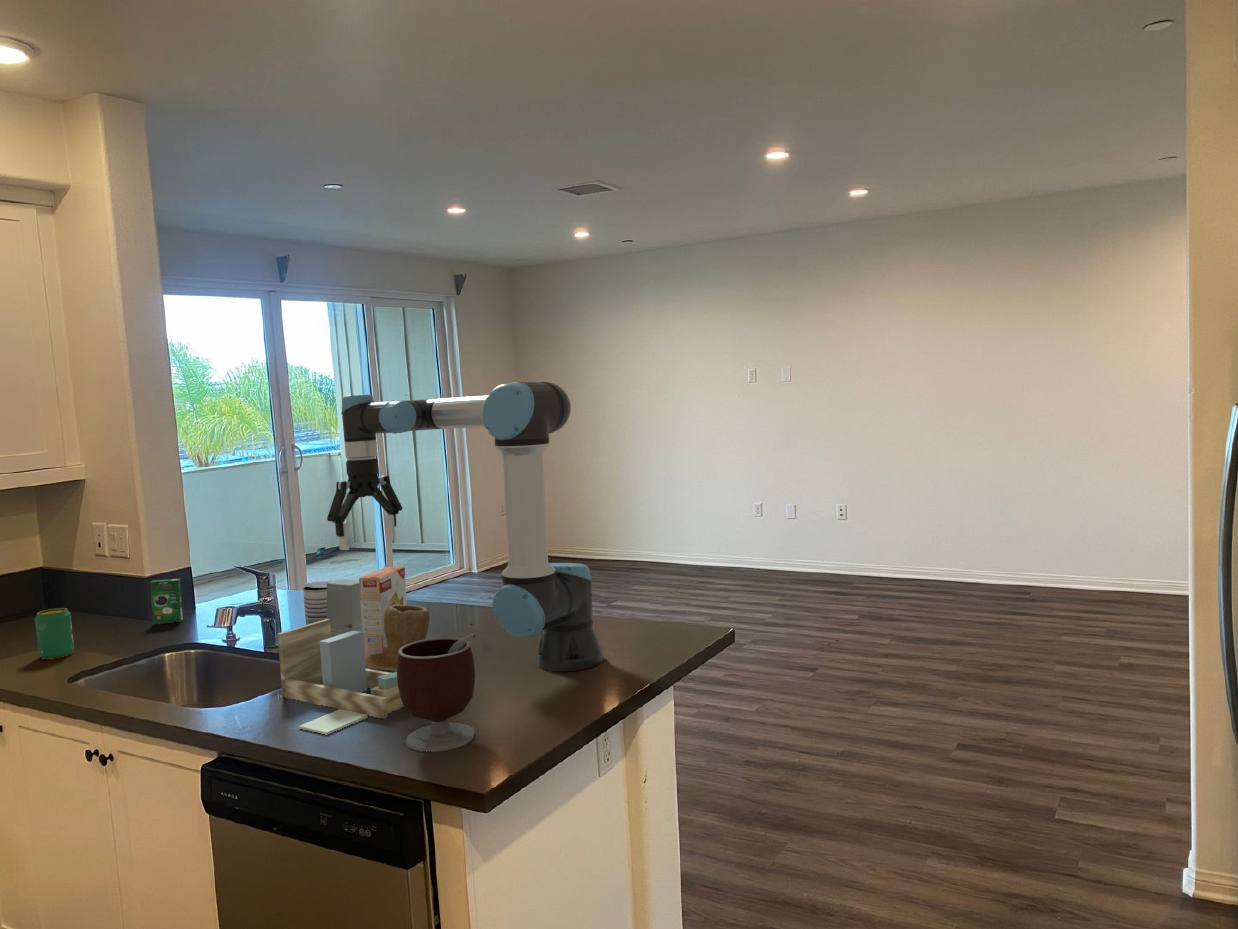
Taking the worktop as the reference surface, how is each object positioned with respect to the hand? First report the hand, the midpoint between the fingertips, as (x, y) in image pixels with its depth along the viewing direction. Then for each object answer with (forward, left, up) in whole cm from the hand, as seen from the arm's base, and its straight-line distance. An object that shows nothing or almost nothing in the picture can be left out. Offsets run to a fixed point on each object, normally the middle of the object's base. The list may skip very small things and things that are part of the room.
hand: (368, 545), depth 220 cm
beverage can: (+84, +34, -28) cm, 95 cm away
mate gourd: (-54, +33, -28) cm, 69 cm away
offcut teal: (-32, +24, -23) cm, 46 cm away
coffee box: (+89, 0, -28) cm, 93 cm away
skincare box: (+19, -8, -28) cm, 34 cm away
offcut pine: (-31, +25, -26) cm, 48 cm away
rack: (-20, +24, -28) cm, 42 cm away
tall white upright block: (-17, +24, -28) cm, 41 cm away
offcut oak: (-32, +24, -28) cm, 49 cm away
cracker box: (-2, -2, -28) cm, 28 cm away
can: (+40, -18, -28) cm, 52 cm away
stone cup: (-14, +5, -28) cm, 32 cm away
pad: (-28, +37, -28) cm, 54 cm away
